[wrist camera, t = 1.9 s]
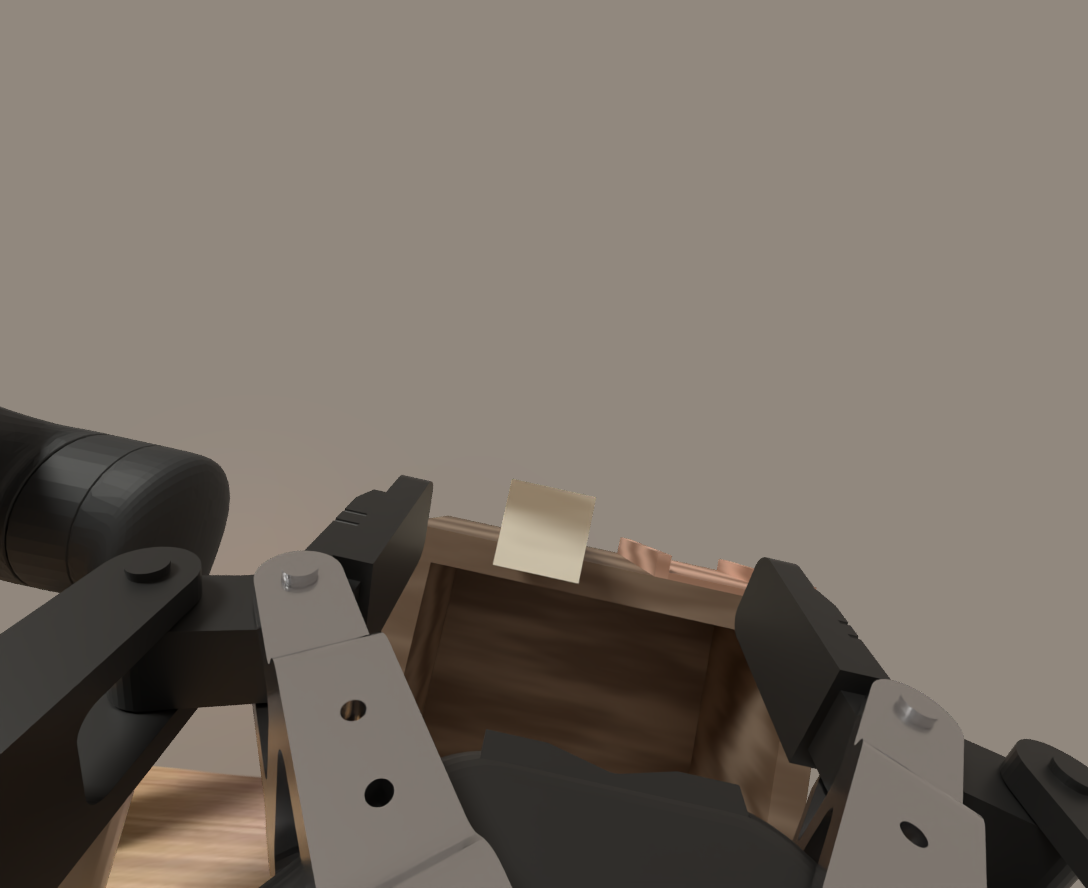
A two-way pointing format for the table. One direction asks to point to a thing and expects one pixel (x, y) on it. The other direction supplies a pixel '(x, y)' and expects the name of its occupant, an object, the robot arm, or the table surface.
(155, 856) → the table surface
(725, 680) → the brown wooden box
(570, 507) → the cream long bar
